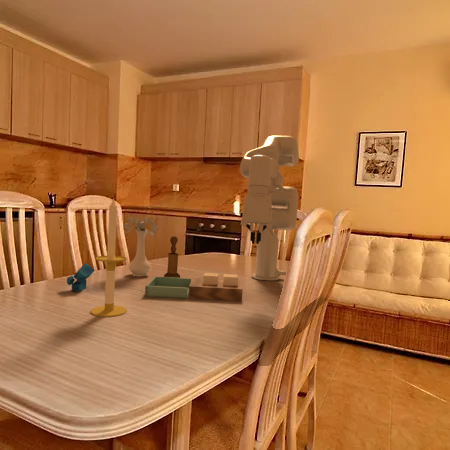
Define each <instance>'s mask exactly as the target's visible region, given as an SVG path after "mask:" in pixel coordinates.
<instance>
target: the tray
mask: <svg viewBox="0 0 450 450" xmlns="http://www.w3.org/2000/svg"><path fill="white" fill-rule="evenodd" d="M191 280H192V278H190V277H187V278H186V277H180V278H174V277H164V276H152V278H151V279H150V280H149V281H148V283H146V285H145V289H144V290H145V291H144V297H149V298H150V297H152V298H167V299H169V298H170V299H188V298H189V286H190V283H191Z"/></svg>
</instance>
